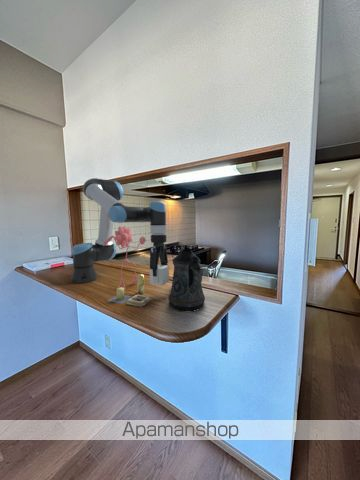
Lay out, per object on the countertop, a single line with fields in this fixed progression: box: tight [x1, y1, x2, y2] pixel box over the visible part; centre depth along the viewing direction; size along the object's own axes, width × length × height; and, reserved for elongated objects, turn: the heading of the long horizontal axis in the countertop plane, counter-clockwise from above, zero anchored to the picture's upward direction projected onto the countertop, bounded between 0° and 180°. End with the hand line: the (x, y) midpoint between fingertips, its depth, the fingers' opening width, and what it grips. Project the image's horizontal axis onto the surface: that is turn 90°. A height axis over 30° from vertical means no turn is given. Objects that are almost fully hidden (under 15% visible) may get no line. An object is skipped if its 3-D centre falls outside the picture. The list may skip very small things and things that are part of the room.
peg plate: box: [107, 286, 133, 305], centre depth 97 cm, size 9×9×5 cm
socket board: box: [126, 293, 152, 307], centre depth 93 cm, size 8×8×2 cm
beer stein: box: [167, 249, 206, 312], centre depth 89 cm, size 16×19×25 cm
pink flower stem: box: [103, 225, 147, 291], centre depth 116 cm, size 15×26×35 cm, turn 141°
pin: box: [136, 273, 145, 295], centre depth 104 cm, size 4×4×10 cm
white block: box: [149, 264, 170, 286], centre depth 99 cm, size 7×7×8 cm
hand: (159, 280), depth 99 cm, fingers closed on white block, 7 cm apart
